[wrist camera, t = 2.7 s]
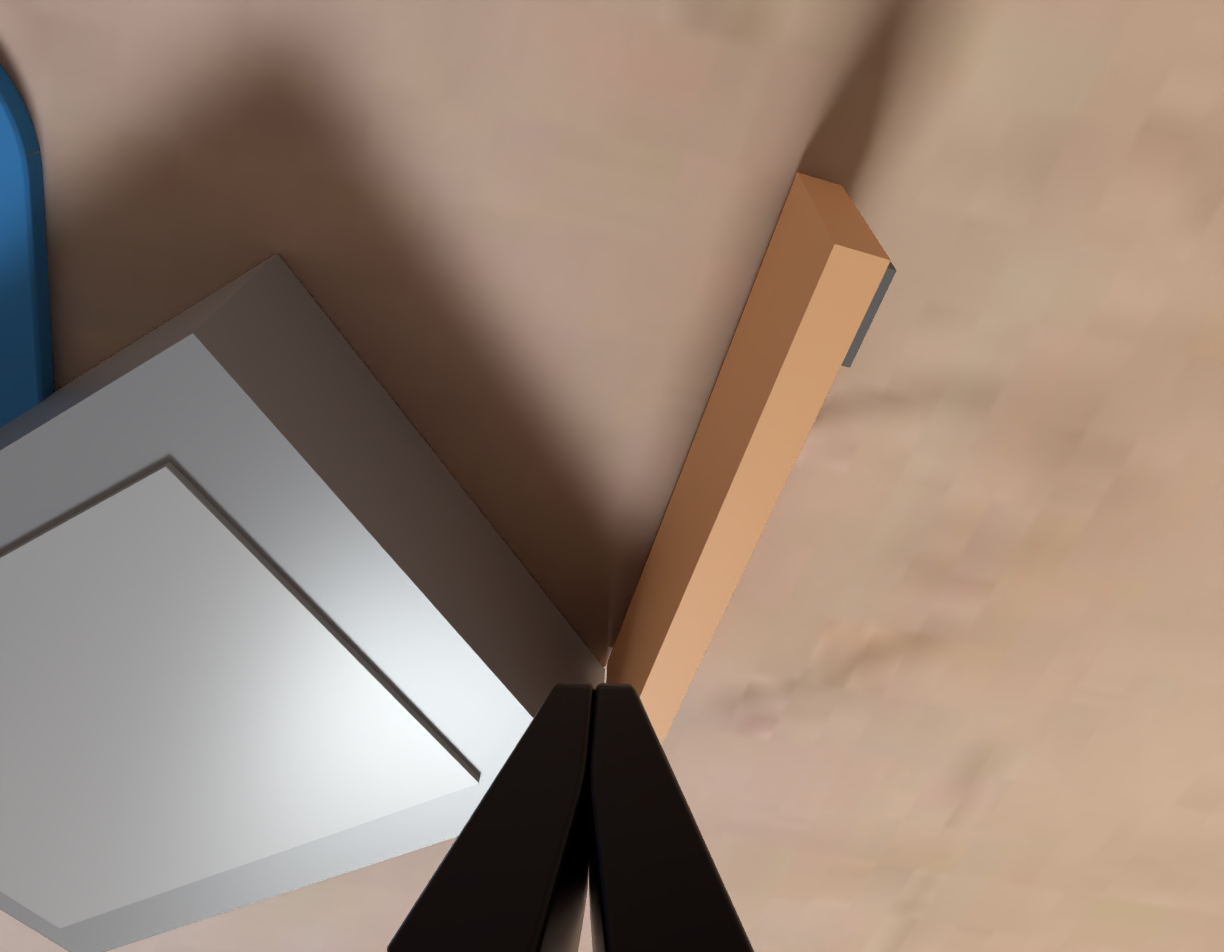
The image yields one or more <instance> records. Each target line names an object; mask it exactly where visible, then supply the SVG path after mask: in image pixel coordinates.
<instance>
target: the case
mask: <svg viewBox="0 0 1224 952" xmlns="http://www.w3.org/2000/svg"><path fill="white" fill-rule="evenodd" d="M604 676H605V669H604V667H603V666H602V665H601V664H600V662H599V661H598V660H597V659H596V657H595V656H594V655H593V654H592V652H591V651H590V650H589V648H588V647H587V646H586V645H585V643H584V642H583V641H582V640H581V638H580V637H579V636H578V634H577V633H576V632H575V631H574V629H573V628H572V627H571V626H570V624H569V623H568V622H567V620H566V619H565V618H564V617H563V615H562V614H561V613H560V612H559V610H558V609H557V608H556V606H555V605H554V604H553V603H552V601H551V600H550V599H549V598H548V596H547V595H546V594H545V592H544V591H543V590H542V589H541V587H540V586H539V585H538V584H537V582H536V581H535V580H534V579H533V577H532V576H531V575H530V573H529V572H528V571H527V570H526V568H525V567H524V566H523V565H522V563H521V562H520V561H519V559H518V558H517V557H516V556H515V554H514V553H513V552H512V551H511V549H510V548H509V547H508V545H507V544H506V543H505V542H504V540H503V539H502V538H501V537H500V535H499V534H498V533H497V531H496V530H495V529H494V528H493V526H492V525H491V524H490V523H489V521H488V520H487V519H486V518H485V516H484V515H483V514H482V512H481V511H480V510H479V509H478V507H477V506H476V505H475V504H474V502H473V501H472V500H471V498H470V497H469V496H468V495H467V493H466V492H465V491H464V490H463V488H462V487H461V486H460V484H459V483H458V482H457V481H456V479H455V478H454V477H453V476H452V474H451V473H450V472H449V470H448V469H447V468H446V467H445V465H444V464H443V463H442V462H441V460H440V459H439V458H438V457H437V455H436V454H435V453H434V451H433V450H432V449H431V448H430V446H429V445H428V444H427V443H426V441H425V440H424V439H423V437H422V436H421V435H420V434H419V432H418V431H417V430H416V429H415V427H414V426H413V425H412V423H411V422H410V421H409V420H408V418H407V417H406V416H405V415H404V413H403V412H402V411H401V409H400V408H399V407H398V406H397V404H396V403H395V402H394V401H393V399H392V398H391V397H390V396H389V394H388V393H387V392H386V390H385V389H384V388H383V387H382V385H381V384H380V383H379V382H378V380H377V379H376V378H375V376H374V375H373V374H372V373H371V371H370V370H369V369H368V368H367V366H366V365H365V364H364V362H363V361H362V360H361V359H360V357H359V356H358V355H357V354H356V352H355V351H354V350H353V348H352V347H351V346H350V345H349V343H348V342H347V341H346V340H345V338H344V337H343V336H342V334H341V333H340V332H339V331H338V329H337V328H336V327H335V326H334V324H333V323H332V322H331V321H330V319H329V318H328V317H327V315H326V314H325V313H324V312H323V310H322V309H321V308H320V307H319V305H318V304H317V303H316V301H315V300H314V299H313V298H312V296H311V295H310V294H309V293H308V291H307V290H306V289H305V287H304V286H303V285H302V284H301V282H300V281H299V280H298V279H297V277H296V276H295V275H294V273H293V272H292V271H291V270H290V268H289V267H288V266H287V265H286V263H285V262H284V261H283V260H282V258H281V257H280V256H279V254H278V253H276V254H275V255H273V256H271V257H270V258H268V259H267V260H265V261H263V262H262V263H260V264H259V265H257V266H255V267H254V268H252V269H251V270H249V271H247V272H246V273H244V274H243V275H241V276H239V277H238V278H236V279H234V280H233V281H231V282H230V283H228V284H226V285H225V286H223V287H222V288H220V289H218V290H217V291H215V292H214V293H212V294H210V295H209V296H207V297H206V298H204V299H202V300H201V301H199V302H198V303H196V304H194V305H193V306H191V307H189V308H188V309H186V310H185V311H183V312H181V313H180V314H178V315H177V316H175V317H173V318H172V319H170V320H169V321H167V322H165V323H164V324H162V325H161V326H159V327H157V328H156V329H154V330H153V331H151V332H149V333H148V334H146V335H145V336H143V337H141V338H140V339H138V340H136V341H135V342H133V343H132V344H130V345H128V346H127V347H125V348H124V349H122V350H120V351H119V352H117V353H116V354H114V355H112V356H111V357H109V358H108V359H106V360H104V361H103V362H101V363H100V364H98V365H96V366H95V367H93V368H92V369H90V370H88V371H87V372H85V373H83V374H82V375H80V376H79V377H77V378H75V379H74V380H72V381H71V382H69V383H67V384H66V385H64V386H63V387H61V388H59V389H58V390H56V391H55V392H53V393H52V394H50V395H49V396H48V397H47V398H46V399H44V400H43V401H42V402H40V403H39V404H37V405H36V406H34V407H33V408H31V409H29V410H28V411H26V412H25V413H23V414H21V415H20V416H18V417H17V418H15V419H13V420H12V421H10V422H8V423H7V424H5V425H4V426H2V427H0V910H2V911H4V912H5V913H7V914H9V915H10V916H12V917H13V918H15V919H17V920H18V921H20V922H22V923H23V924H25V925H27V926H28V927H30V928H31V929H33V930H35V931H36V932H38V933H40V934H41V935H43V936H44V937H46V938H48V939H49V940H51V941H53V942H54V943H56V944H57V945H59V946H61V947H62V948H64V949H66V950H67V951H69V952H106V951H109V950H112V949H115V948H118V947H121V946H124V945H127V944H130V943H133V942H136V941H139V940H142V939H145V938H149V937H152V936H155V935H158V934H161V933H164V932H167V931H170V930H173V929H176V928H179V927H182V926H185V925H188V924H191V923H194V922H197V921H201V920H204V919H207V918H210V917H213V916H216V915H219V914H222V913H225V912H228V911H231V910H234V909H237V908H240V907H243V906H246V905H249V904H253V903H256V902H259V901H262V900H265V899H268V898H271V897H274V896H277V895H280V894H283V893H286V892H289V891H292V890H295V889H298V888H301V887H305V886H308V885H311V884H314V883H317V882H320V881H323V880H326V879H329V878H332V877H335V876H338V875H341V874H344V873H347V872H350V871H353V870H357V869H360V868H363V867H366V866H369V865H372V864H375V863H378V862H381V861H384V860H387V859H390V858H393V857H396V856H399V855H402V854H405V853H409V852H412V851H415V850H418V849H421V848H424V847H427V846H430V845H433V844H436V843H439V842H442V841H445V840H448V839H451V838H454V837H457V836H459V834H460V832H461V831H462V829H463V828H464V826H465V825H466V823H467V822H468V820H469V818H470V817H471V815H472V814H473V812H474V811H475V809H476V807H477V806H478V804H479V803H480V801H481V800H482V798H483V797H484V795H485V793H486V792H487V790H488V789H489V787H490V786H491V784H492V782H493V781H494V779H495V778H496V776H497V775H498V773H499V771H500V770H501V768H502V767H503V765H504V764H505V762H506V761H507V759H508V757H509V756H510V754H511V753H512V751H513V750H514V748H515V746H516V745H517V743H518V742H519V740H520V739H521V737H522V735H523V734H524V732H525V731H526V729H527V728H528V726H529V725H530V723H531V721H532V720H533V718H534V717H535V715H536V714H537V712H538V710H539V709H540V707H541V706H542V704H543V703H544V701H545V700H546V698H547V696H548V695H549V693H550V692H551V690H552V689H553V687H554V686H555V685H556V684H557V683H559V682H588V683H591V684H592V685H593V686H594V688H595V689H596V687H597V685H598V684H600V683H604Z"/></svg>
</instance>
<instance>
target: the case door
mask: <svg viewBox="0 0 1224 952" xmlns="http://www.w3.org/2000/svg"><path fill="white" fill-rule="evenodd" d="M895 272H896V269H895V268H894V266H893V265H892V263H891V260H890V259H889V257H888V255H887V254H886V252H885V251H884V249H883V248H882V246H881V245H880V243H879V242H878V240H877V239H876V237H875V235H874V234H873V232H872V231H871V229H870V228H869V226H868V225H867V223H866V222H865V220H864V219H863V217H862V215H861V214H860V212H859V211H858V209H857V208H856V206H855V205H854V203H853V202H852V200H851V199H850V197H849V195H848V194H847V192H846V191H845V189H844V188H843V186H842V185H839V184H835V183H832V182H829V181H825V180H822V179H819V178H815V177H812V176H809V175H805V174H802V173H799V172H797V174H796V177H795V179H794V182H793V184H792V187H791V190H790V192H789V195H788V197H787V200H786V203H785V205H784V208H783V210H782V213H781V215H780V218H779V221H778V223H777V226H776V228H775V231H774V234H773V236H772V239H771V241H770V244H769V246H768V249H767V252H766V254H765V257H764V259H763V262H762V265H761V267H760V270H759V272H758V275H757V277H756V280H755V283H754V285H753V288H752V290H751V293H750V296H749V298H748V301H747V303H746V306H745V308H744V311H743V314H742V316H741V319H740V321H739V324H738V327H737V329H736V332H735V334H734V337H733V339H732V342H731V345H730V347H729V350H728V352H727V355H726V358H725V360H724V363H723V365H722V368H721V371H720V373H719V376H718V378H717V381H716V383H715V386H714V389H713V391H712V394H711V396H710V399H709V402H708V404H707V407H706V409H705V412H704V414H703V417H702V420H701V422H700V425H699V427H698V430H697V433H696V435H695V438H694V440H693V443H692V445H691V448H690V451H689V453H688V456H687V458H686V461H685V464H684V466H683V469H682V471H681V474H680V476H679V479H678V482H677V484H676V487H675V489H674V492H673V495H672V497H671V500H670V502H669V505H668V507H667V510H666V513H665V515H664V518H663V520H662V523H661V526H660V528H659V531H658V533H657V536H656V538H655V541H654V544H653V546H652V549H651V551H650V554H649V557H648V559H647V562H646V564H645V567H644V569H643V572H642V575H641V577H640V580H639V582H638V585H637V588H636V590H635V593H634V595H633V598H632V600H631V603H630V606H629V608H628V611H627V613H626V616H625V619H624V621H623V624H622V626H621V629H620V631H619V634H618V637H617V639H616V642H615V644H614V647H613V650H612V652H611V655H610V657H609V660H608V664H607V681H606V683H618V684H631V685H632V686H634V688H635V689H636V691H637V693H638V695H639V697H640V699H641V702H642V704H643V706H644V708H645V710H646V713H647V715H648V717H649V719H650V722H651V724H652V726H653V728H654V730H655V733H656V735H657V737H658V739H659V742H660V744H661V746H662V744H663V741H664V739H665V737H666V735H667V733H668V731H669V729H670V727H671V724H672V722H673V720H674V718H675V716H676V714H677V712H678V710H679V708H680V705H681V703H682V701H683V699H684V697H685V695H686V693H687V691H688V688H689V686H690V684H691V682H692V680H693V678H694V676H695V674H696V672H697V669H698V667H699V665H700V663H701V661H702V659H703V657H704V655H705V653H706V650H707V648H708V646H709V644H710V642H711V640H712V638H713V636H714V633H715V631H716V629H717V627H718V625H719V623H720V621H721V619H722V617H723V614H724V612H725V610H726V608H727V606H728V604H729V602H730V600H731V597H732V595H733V593H734V591H735V589H736V587H737V585H738V583H739V581H740V578H741V576H742V574H743V572H744V570H745V568H746V566H747V564H748V561H749V559H750V557H751V555H752V553H753V551H754V549H755V547H756V545H757V542H758V540H759V538H760V536H761V534H762V532H763V530H764V528H765V525H766V523H767V521H768V519H769V517H770V515H771V513H772V511H773V509H774V506H775V504H776V502H777V500H778V498H779V496H780V494H781V492H782V490H783V487H784V485H785V483H786V481H787V479H788V477H789V475H790V473H791V470H792V468H793V466H794V464H795V462H796V460H797V458H798V456H799V454H800V451H801V449H802V447H803V445H804V443H805V441H806V439H807V437H808V434H809V432H810V430H811V428H812V426H813V424H814V422H815V420H816V418H817V415H818V413H819V411H820V409H821V407H822V405H823V403H824V401H825V398H826V396H827V394H828V392H829V390H830V388H831V386H832V384H833V382H834V379H835V377H836V375H837V373H838V371H839V369H840V367H841V365H842V366H846V367H849V368H850V366H851V364H852V362H853V360H854V358H855V356H856V354H857V352H858V349H859V347H860V345H861V343H862V341H863V339H864V337H865V335H866V333H867V331H868V329H869V327H870V324H871V322H872V320H873V318H874V316H875V314H876V312H877V310H878V308H879V306H880V304H881V301H882V299H883V297H884V295H885V293H886V291H887V289H888V287H889V285H890V283H891V281H892V279H893V276H894V274H895Z"/></svg>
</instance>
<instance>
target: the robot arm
mask: <svg viewBox="0 0 1224 952" xmlns="http://www.w3.org/2000/svg"><path fill="white" fill-rule="evenodd" d="M588 876H589V897H590V918H591V933H592V947H593V952H754V950H753V948H752V946H751V943H750V941H749V939H748V937H747V935H746V932H745V930H744V928H743V926H742V923H741V921H740V919H739V917H738V915H737V912H736V910H735V908H734V906H733V904H732V901H731V899H730V897H729V895H728V892H727V890H726V888H725V886H724V884H723V881H722V879H721V877H720V875H719V872H718V870H717V868H716V866H715V864H714V861H713V859H712V857H711V855H710V852H709V850H708V848H707V846H706V844H705V841H704V839H703V837H702V835H701V832H700V830H699V828H698V826H697V824H696V821H695V819H694V817H693V815H692V813H691V810H690V808H689V806H688V804H687V801H686V799H685V797H684V795H683V793H682V790H681V788H680V786H679V784H678V781H677V779H676V777H675V775H674V773H673V770H672V768H671V766H670V764H669V761H668V759H667V757H666V755H665V753H664V750H663V748H662V746H661V744H660V742H659V739H658V737H657V735H656V733H655V730H654V728H653V726H652V724H651V722H650V719H649V717H648V715H647V713H646V710H645V708H644V706H643V704H642V702H641V699H640V697H639V695H638V693H637V691H636V689H635V688H634V686H632V685H631V684H618V683H600V684H598V685H597V687H596V689H595V688H594V686H593V685H592V684H591V683H588V682H559V683H557V684H556V685H555V686H554V687H553V689H552V690H551V692H550V693H549V695H548V696H547V698H546V700H545V701H544V703H543V704H542V706H541V707H540V709H539V710H538V712H537V714H536V715H535V717H534V718H533V720H532V721H531V723H530V725H529V726H528V728H527V729H526V731H525V732H524V734H523V735H522V737H521V739H520V740H519V742H518V743H517V745H516V746H515V748H514V750H513V751H512V753H511V754H510V756H509V757H508V759H507V761H506V762H505V764H504V765H503V767H502V768H501V770H500V771H499V773H498V775H497V776H496V778H495V779H494V781H493V782H492V784H491V786H490V787H489V789H488V790H487V792H486V793H485V795H484V797H483V798H482V800H481V801H480V803H479V804H478V806H477V807H476V809H475V811H474V812H473V814H472V815H471V817H470V818H469V820H468V822H467V823H466V825H465V826H464V828H463V829H462V831H461V832H460V834H459V836H458V837H457V839H456V840H455V842H454V843H453V845H452V847H451V848H450V850H449V851H448V853H447V854H446V856H445V858H444V859H443V861H442V862H441V864H440V865H439V867H438V868H437V870H436V872H435V873H434V875H433V876H432V878H431V879H430V881H429V883H428V884H427V886H426V887H425V889H424V890H423V892H422V894H421V895H420V897H419V898H418V900H417V901H416V903H415V904H414V906H413V908H412V909H411V911H410V912H409V914H408V915H407V917H406V919H405V920H404V922H403V923H402V925H401V926H400V928H399V929H398V931H397V933H396V934H395V936H394V937H393V939H392V940H391V942H390V944H389V945H388V947H387V952H578V947H579V941H580V935H581V929H582V923H583V917H584V911H585V904H586V897H587V889H588Z"/></svg>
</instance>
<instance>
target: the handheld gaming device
mask: <svg viewBox="0 0 1224 952" xmlns="http://www.w3.org/2000/svg"><path fill="white" fill-rule="evenodd" d="M53 392H54V380H53V361H52V342H51V323H50V304H49V285H48V266H47V246H46V227H45V208H44V189H43V171H42V163H41V155H40V149H39V144H38V141H37V137H36V134H35V130H34V127H33V124H32V121H31V119H30V116H29V114H28V112H27V109H26V107H25V105H24V102H23V100H22V98H21V96H20V95H19V93H18V91H17V89H16V88H15V86H14V84H13V82H12V81H11V79H10V77H9V76H8V74H7V73H6V71H5V70H4V68H3V67H2V66H1V64H0V427H2V426H4V425H5V424H7V423H8V422H10V421H12V420H13V419H15V418H17V417H18V416H20V415H21V414H23V413H25V412H26V411H28V410H29V409H31V408H33V407H34V406H36V405H37V404H39V403H40V402H42V401H43V400H44V399H46V398H47V397H48V396H49V395H50V394H52V393H53Z"/></svg>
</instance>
